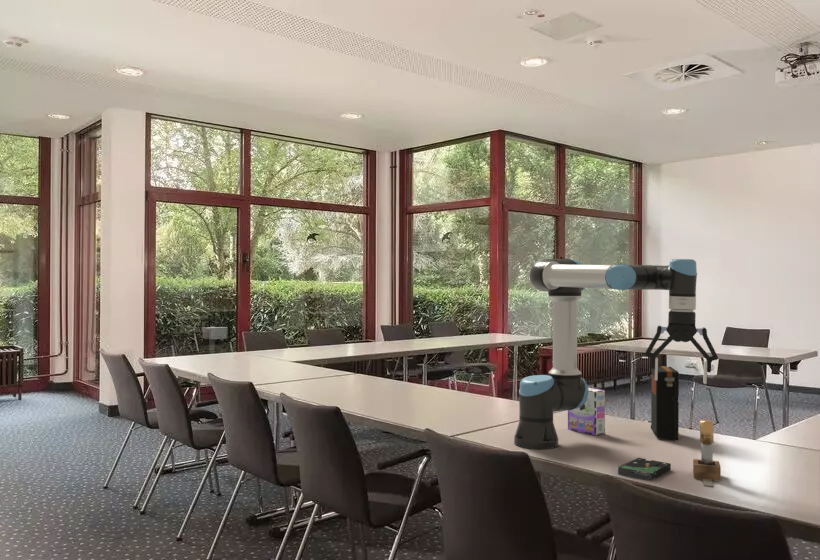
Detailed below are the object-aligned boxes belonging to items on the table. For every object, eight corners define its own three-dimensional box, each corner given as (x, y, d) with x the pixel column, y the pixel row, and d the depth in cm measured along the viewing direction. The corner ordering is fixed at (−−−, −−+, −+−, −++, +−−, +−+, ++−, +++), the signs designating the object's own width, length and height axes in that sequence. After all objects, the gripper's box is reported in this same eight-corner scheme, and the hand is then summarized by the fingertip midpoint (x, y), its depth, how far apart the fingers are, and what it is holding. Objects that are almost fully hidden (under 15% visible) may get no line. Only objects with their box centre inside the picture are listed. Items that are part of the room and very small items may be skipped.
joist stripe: (703, 486, 190) (703, 485, 190) (700, 467, 209) (700, 466, 209) (713, 487, 189) (713, 486, 189) (708, 467, 209) (708, 466, 209)
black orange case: (681, 441, 243) (681, 371, 243) (655, 440, 245) (656, 370, 245) (673, 432, 258) (673, 366, 258) (649, 431, 260) (649, 365, 260)
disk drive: (637, 466, 213) (617, 475, 201) (637, 457, 213) (617, 466, 201) (671, 472, 206) (652, 482, 195) (671, 463, 206) (652, 472, 195)
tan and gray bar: (700, 477, 198) (700, 421, 198) (700, 473, 201) (699, 419, 201) (714, 478, 196) (713, 422, 196) (713, 474, 200) (712, 420, 200)
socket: (693, 478, 197) (694, 464, 197) (693, 472, 204) (693, 458, 204) (720, 481, 195) (720, 467, 195) (718, 474, 201) (718, 461, 201)
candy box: (605, 434, 255) (605, 389, 255) (595, 436, 251) (595, 391, 251) (577, 427, 266) (577, 385, 266) (566, 429, 263) (567, 386, 263)
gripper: (637, 309, 205) (635, 380, 205) (729, 313, 196) (727, 386, 197) (638, 308, 212) (636, 376, 213) (726, 311, 204) (724, 382, 204)
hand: (680, 381), depth 205 cm, fingers open, 13 cm apart
